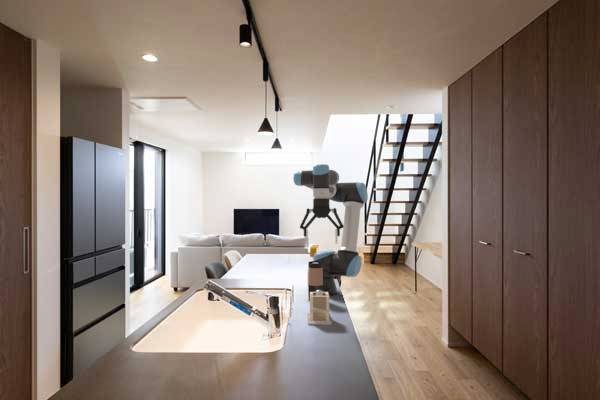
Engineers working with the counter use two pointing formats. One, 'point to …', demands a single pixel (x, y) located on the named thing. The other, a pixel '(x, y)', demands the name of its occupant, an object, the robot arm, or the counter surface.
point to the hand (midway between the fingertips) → (321, 243)
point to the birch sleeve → (319, 306)
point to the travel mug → (315, 276)
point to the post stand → (319, 322)
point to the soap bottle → (313, 250)
